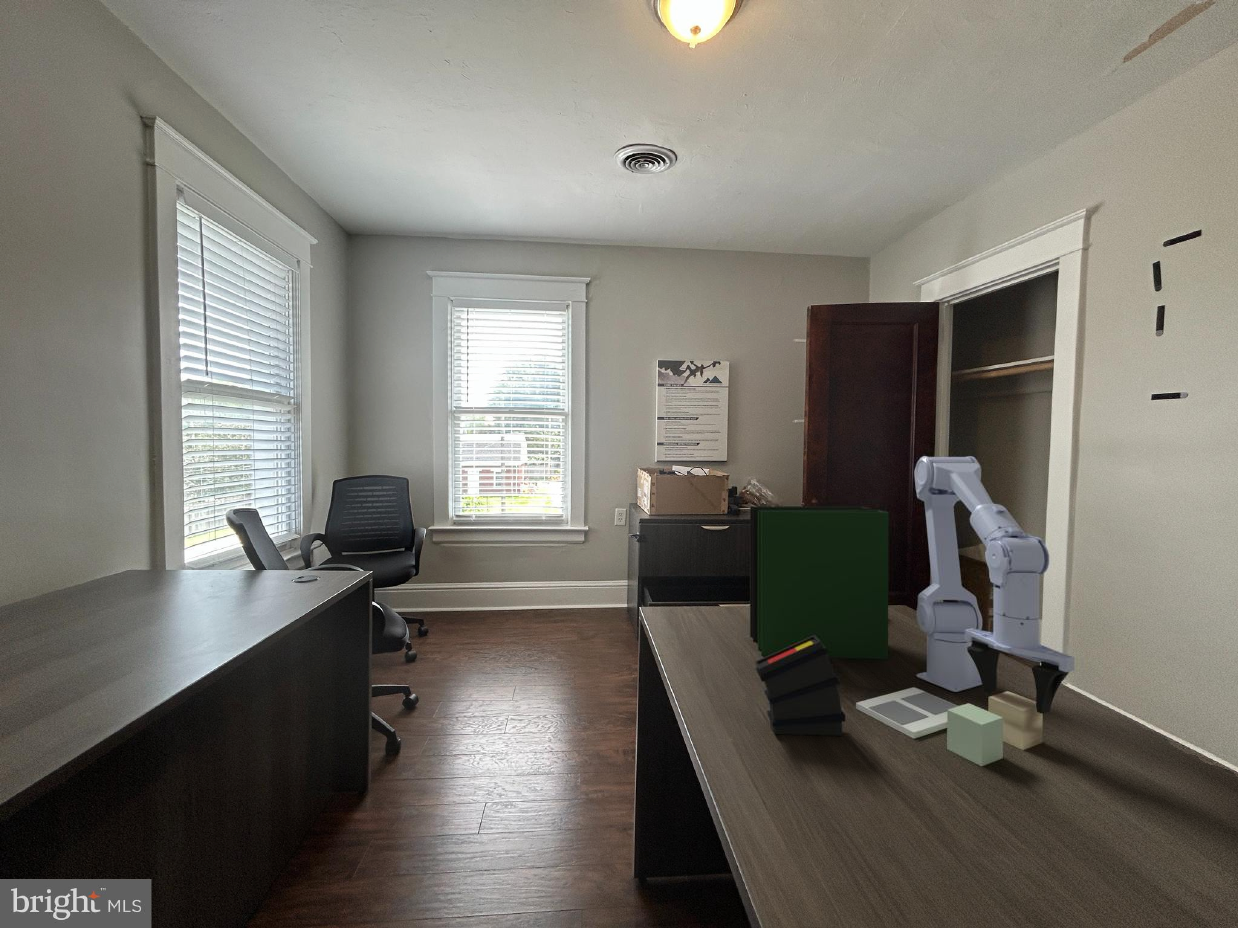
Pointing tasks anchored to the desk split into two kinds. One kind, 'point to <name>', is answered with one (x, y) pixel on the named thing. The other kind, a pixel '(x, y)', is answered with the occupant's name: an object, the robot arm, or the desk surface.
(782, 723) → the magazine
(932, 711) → the board
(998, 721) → the sage post
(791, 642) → the binder
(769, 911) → the desk surface
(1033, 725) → the wooden toy cube
